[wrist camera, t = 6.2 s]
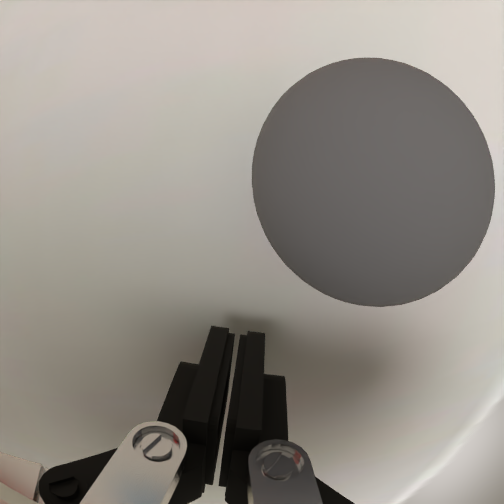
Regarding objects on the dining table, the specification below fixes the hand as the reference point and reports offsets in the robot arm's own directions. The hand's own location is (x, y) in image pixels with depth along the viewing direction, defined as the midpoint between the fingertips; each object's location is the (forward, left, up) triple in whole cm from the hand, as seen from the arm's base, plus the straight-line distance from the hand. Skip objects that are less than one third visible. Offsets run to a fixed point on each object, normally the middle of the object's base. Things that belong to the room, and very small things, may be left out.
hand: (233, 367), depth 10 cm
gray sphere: (+3, +6, +1) cm, 7 cm away
